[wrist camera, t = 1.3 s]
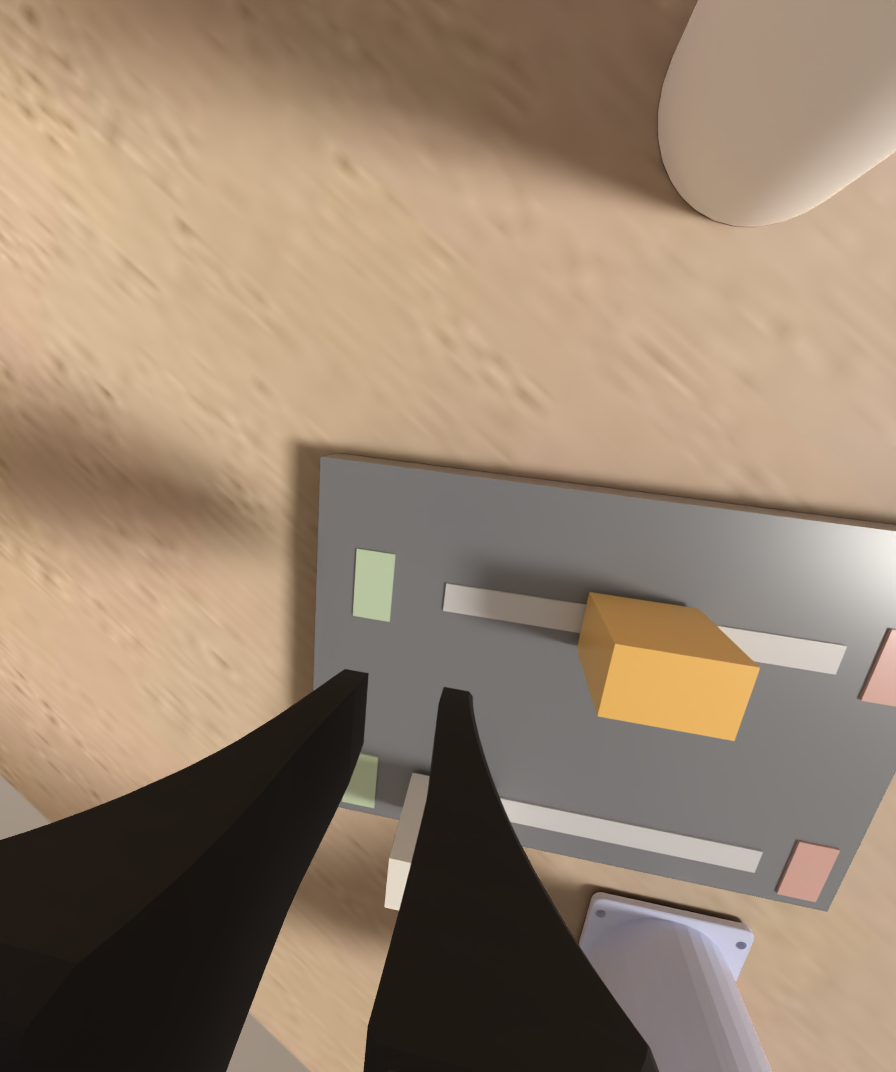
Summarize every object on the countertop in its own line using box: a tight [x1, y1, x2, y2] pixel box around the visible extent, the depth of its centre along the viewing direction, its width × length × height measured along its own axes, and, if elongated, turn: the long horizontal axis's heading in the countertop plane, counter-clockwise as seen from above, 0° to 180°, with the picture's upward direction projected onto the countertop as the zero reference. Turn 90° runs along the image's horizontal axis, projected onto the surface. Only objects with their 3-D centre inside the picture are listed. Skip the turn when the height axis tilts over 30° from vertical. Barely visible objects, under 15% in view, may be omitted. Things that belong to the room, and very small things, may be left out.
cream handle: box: [384, 773, 499, 911], centre depth 18 cm, size 2×4×4 cm, turn 84°
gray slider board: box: [313, 453, 896, 912], centre depth 19 cm, size 17×24×2 cm
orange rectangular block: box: [577, 592, 760, 741], centre depth 14 cm, size 2×4×4 cm, turn 84°
